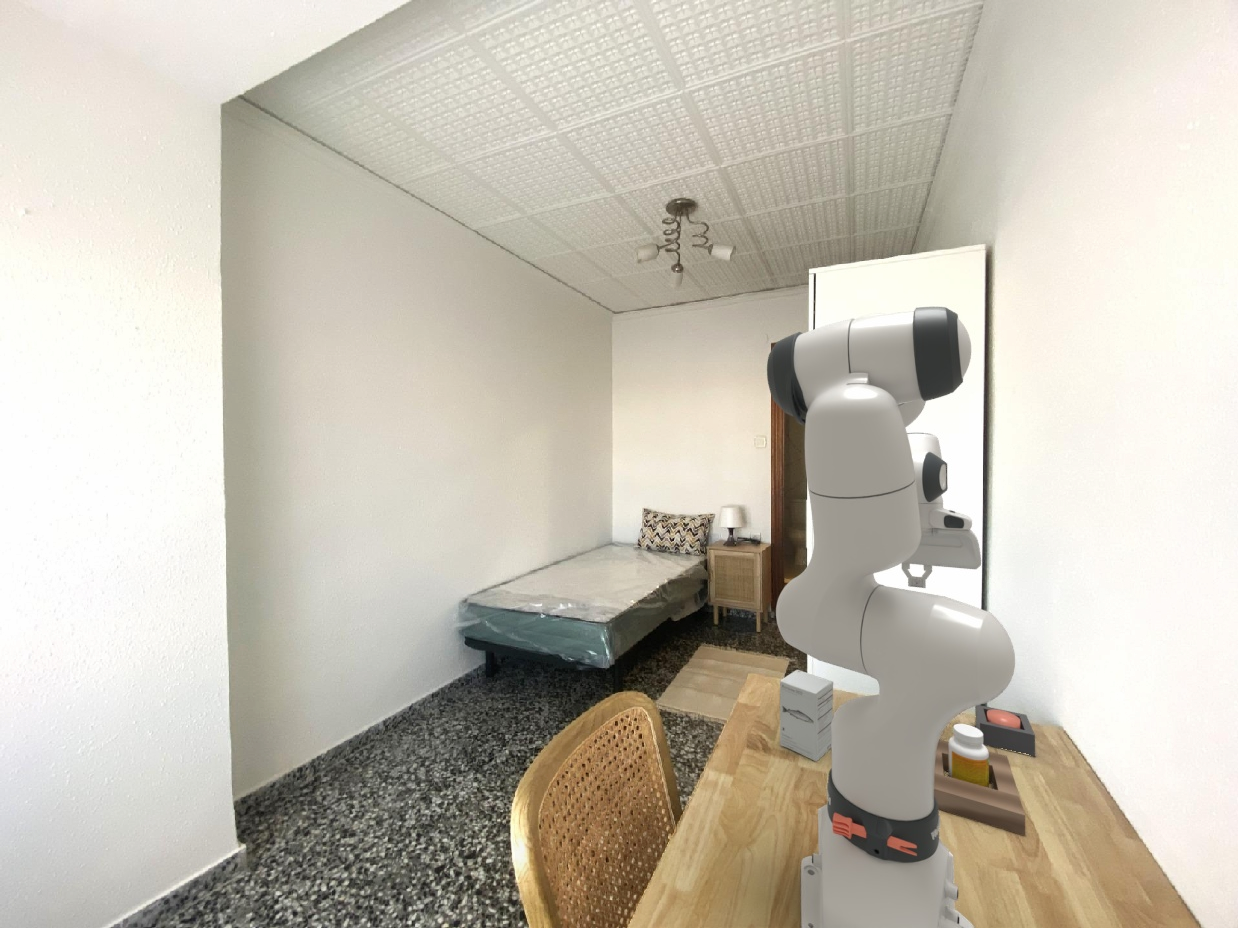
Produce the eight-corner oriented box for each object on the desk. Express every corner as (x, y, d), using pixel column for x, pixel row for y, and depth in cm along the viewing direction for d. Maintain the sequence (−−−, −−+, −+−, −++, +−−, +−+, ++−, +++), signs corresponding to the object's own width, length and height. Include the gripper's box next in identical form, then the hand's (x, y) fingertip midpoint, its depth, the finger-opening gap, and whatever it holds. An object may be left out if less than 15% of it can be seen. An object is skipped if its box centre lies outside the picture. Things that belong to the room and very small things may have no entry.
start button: (1022, 742, 89) (1022, 725, 89) (988, 734, 92) (988, 718, 91) (1017, 728, 93) (1017, 713, 93) (985, 721, 96) (985, 706, 96)
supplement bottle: (996, 802, 76) (996, 741, 76) (958, 797, 77) (957, 737, 77) (978, 779, 81) (978, 722, 81) (942, 775, 82) (942, 719, 82)
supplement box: (778, 745, 92) (778, 679, 91) (797, 730, 96) (797, 667, 96) (816, 763, 86) (815, 693, 86) (834, 746, 91) (834, 680, 91)
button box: (1035, 757, 87) (1034, 735, 87) (980, 743, 91) (979, 722, 91) (1026, 735, 94) (1026, 714, 94) (975, 723, 98) (975, 704, 98)
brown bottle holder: (1025, 835, 69) (1025, 815, 69) (926, 805, 75) (926, 786, 75) (1007, 772, 83) (1006, 755, 83) (924, 751, 89) (924, 735, 89)
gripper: (855, 515, 97) (856, 583, 97) (982, 520, 86) (982, 597, 86) (858, 512, 102) (859, 577, 102) (978, 517, 92) (978, 589, 92)
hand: (916, 586), depth 94 cm, fingers closed
